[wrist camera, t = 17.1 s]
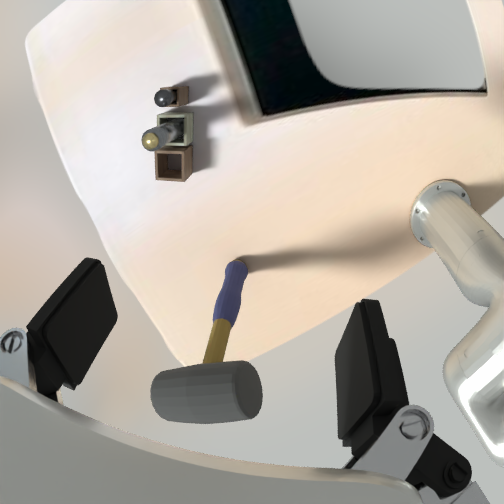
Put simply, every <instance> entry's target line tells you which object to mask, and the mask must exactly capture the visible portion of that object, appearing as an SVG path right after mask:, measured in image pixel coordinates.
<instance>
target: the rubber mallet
mask: <svg viewBox="0 0 504 504" xmlns="http://www.w3.org/2000/svg"><path fill="white" fill-rule="evenodd" d="M247 274H248V269H247V267H246V265H245V263H244V262H243V261H241V260H233V261H232V262H230V263H229V264H228V265H227V267H226V269H225V280H224V283H223V286H222V289H221V291H220V293H219V295H218V298H217V300H216V304H215V308H214V314H213V327H212V330H211V334H210V338H209V341H208V345H207V349H206V352H205V356H204V360H203V364H197V365H192V366H187V367H181V368H177V369H172V370H166V371H162V372H160V373H159V374H158V375H156V376H155V378H154V380H153V382H152V385H151V400H152V405H153V407H154V409H155V411H156V413H158V415H159V416H160V417H161V418H163V419H166V420H167V421H174V422H183V423H197V424H198V423H199V424H213V423H224V422H234V421H240V420H247V419H252V418H254V417H255V416H257V414H258V413H259V411H260V409H261V405H262V397H263V394H262V386H261V381H260V378H259V375H258V373H257V371H256V370H255V368H254V367H253V366H252V365H251V364H250V363H249V362H246V361H242V360H241V361H229V362H223V358H224V354H225V350H226V346H227V342H228V338H229V334H230V330H231V328H232V327H233V325H234V323H235V321H236V318H237V315H238V312H239V309H240V305H241V292H242V288H243V283H244V280H245V279H246V277H247Z"/></svg>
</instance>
